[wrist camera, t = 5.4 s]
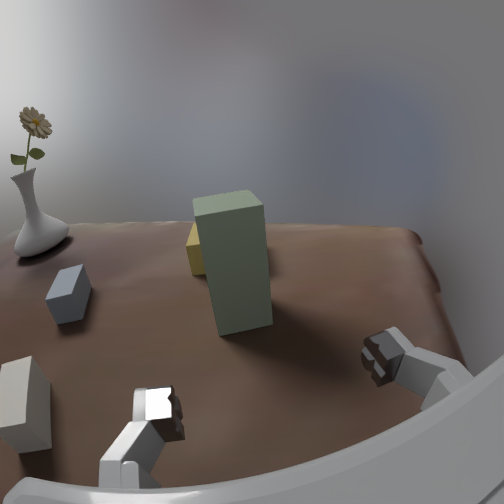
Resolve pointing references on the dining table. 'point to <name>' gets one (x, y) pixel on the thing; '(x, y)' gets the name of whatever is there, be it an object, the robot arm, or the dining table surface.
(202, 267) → the mustard brick
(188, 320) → the dining table surface
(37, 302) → the dining table surface
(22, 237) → the flower in vase
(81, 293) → the slate brick
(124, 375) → the dining table surface
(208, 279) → the green brick
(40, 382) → the cream brick
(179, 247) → the dining table surface
